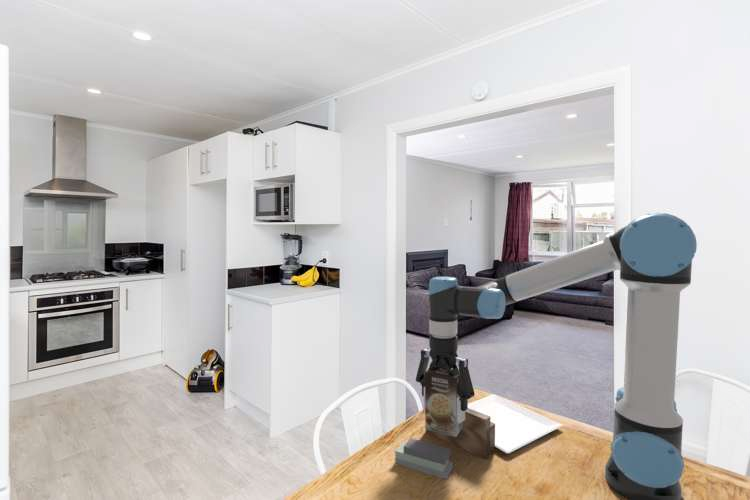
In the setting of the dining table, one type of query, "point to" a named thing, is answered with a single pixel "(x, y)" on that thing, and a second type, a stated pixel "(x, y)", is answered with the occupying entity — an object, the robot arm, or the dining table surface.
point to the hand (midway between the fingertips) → (443, 414)
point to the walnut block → (473, 434)
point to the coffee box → (441, 402)
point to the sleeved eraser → (424, 457)
